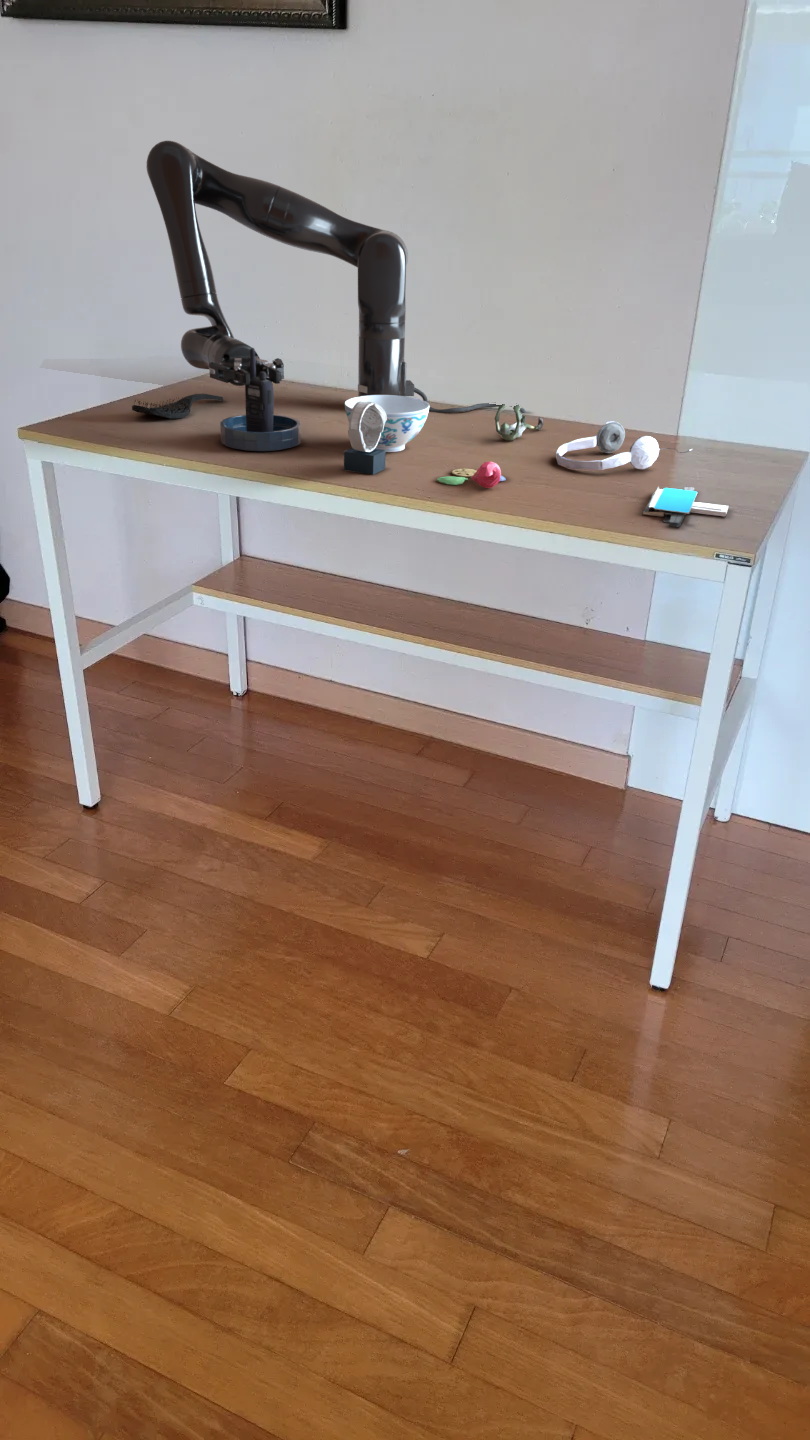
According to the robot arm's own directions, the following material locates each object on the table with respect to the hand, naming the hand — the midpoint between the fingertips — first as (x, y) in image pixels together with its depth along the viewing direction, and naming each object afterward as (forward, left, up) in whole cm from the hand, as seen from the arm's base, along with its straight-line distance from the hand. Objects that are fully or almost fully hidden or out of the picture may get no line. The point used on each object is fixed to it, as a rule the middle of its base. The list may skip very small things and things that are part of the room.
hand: (262, 378), depth 186 cm
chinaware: (-21, +3, -12) cm, 25 cm away
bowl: (+1, -2, -12) cm, 12 cm away
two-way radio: (0, -2, -10) cm, 11 cm away
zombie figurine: (-47, -4, -12) cm, 49 cm away
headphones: (-59, +17, -12) cm, 63 cm away
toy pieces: (-32, +25, -12) cm, 43 cm away
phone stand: (-62, +43, -12) cm, 76 cm away
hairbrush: (+15, -28, -12) cm, 33 cm away
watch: (-15, +17, -12) cm, 26 cm away
